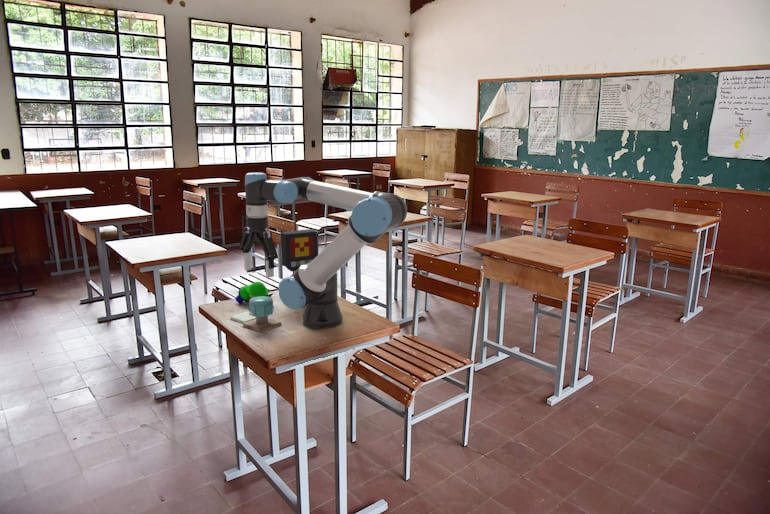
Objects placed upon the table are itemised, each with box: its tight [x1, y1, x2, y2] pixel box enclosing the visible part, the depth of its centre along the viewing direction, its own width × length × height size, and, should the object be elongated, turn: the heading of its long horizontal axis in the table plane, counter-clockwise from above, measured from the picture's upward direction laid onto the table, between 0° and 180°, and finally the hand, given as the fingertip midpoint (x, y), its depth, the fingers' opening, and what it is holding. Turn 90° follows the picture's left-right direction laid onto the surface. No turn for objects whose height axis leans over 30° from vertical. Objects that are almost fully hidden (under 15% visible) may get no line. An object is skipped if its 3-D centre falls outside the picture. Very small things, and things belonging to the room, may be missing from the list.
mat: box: [229, 310, 256, 324], centre depth 210 cm, size 9×9×1 cm
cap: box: [248, 296, 274, 317], centre depth 201 cm, size 8×11×5 cm
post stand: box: [242, 315, 282, 333], centre depth 202 cm, size 10×10×9 cm
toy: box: [235, 281, 274, 304], centre depth 226 cm, size 10×11×15 cm
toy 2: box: [280, 228, 319, 272], centre depth 230 cm, size 14×6×30 cm, turn 119°
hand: (258, 273), depth 198 cm, fingers open, 13 cm apart
